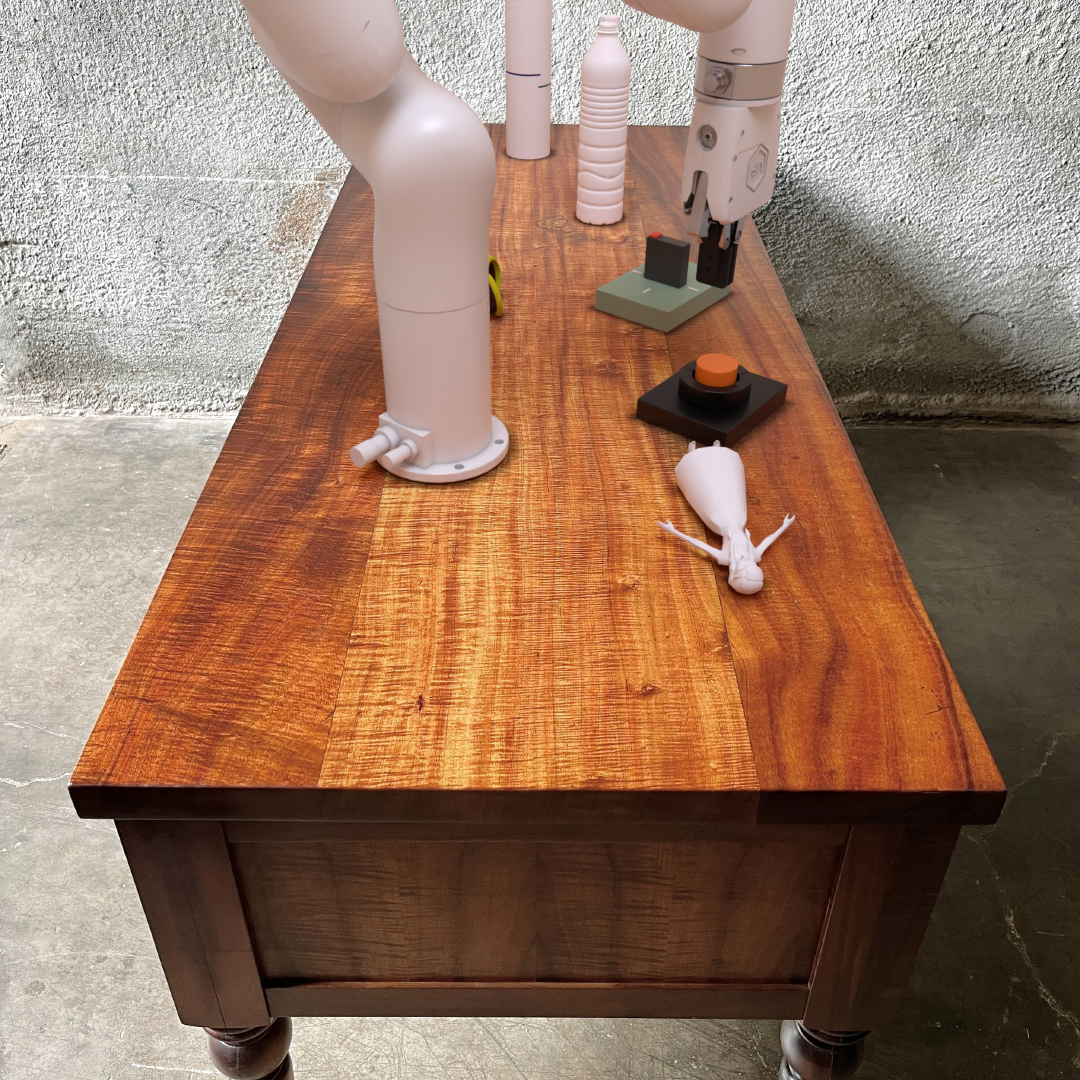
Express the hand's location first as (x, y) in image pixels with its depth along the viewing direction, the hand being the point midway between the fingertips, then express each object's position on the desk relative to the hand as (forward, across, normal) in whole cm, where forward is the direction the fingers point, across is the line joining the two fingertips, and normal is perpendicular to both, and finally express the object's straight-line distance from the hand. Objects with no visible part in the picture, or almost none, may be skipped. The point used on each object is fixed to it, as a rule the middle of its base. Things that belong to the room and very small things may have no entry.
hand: (714, 282), depth 99 cm
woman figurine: (+12, -20, -14) cm, 27 cm away
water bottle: (+12, +36, +37) cm, 53 cm away
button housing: (+12, -3, -3) cm, 12 cm away
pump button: (+8, -3, -3) cm, 9 cm away
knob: (+9, +16, +15) cm, 24 cm away
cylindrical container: (+12, +53, +62) cm, 83 cm away
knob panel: (+12, +16, +14) cm, 25 cm away
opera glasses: (+12, +2, +31) cm, 33 cm away
